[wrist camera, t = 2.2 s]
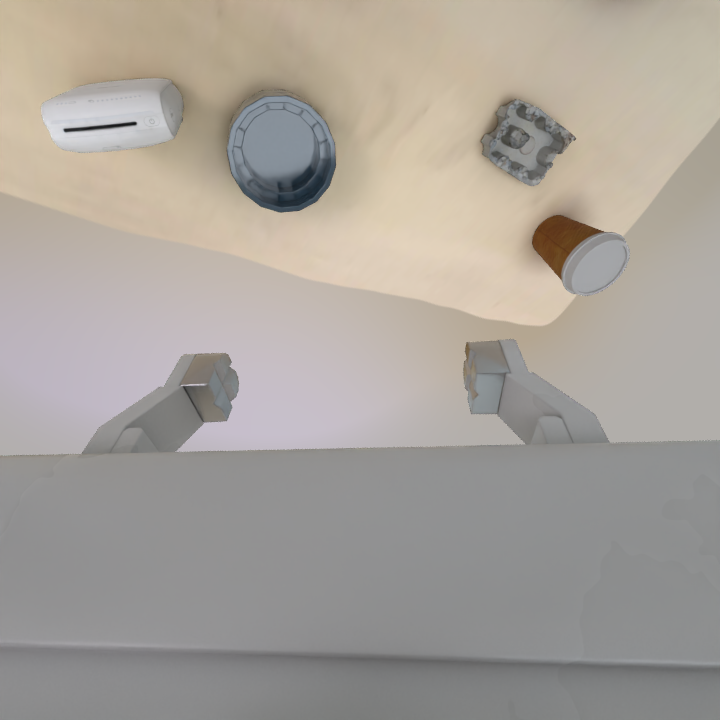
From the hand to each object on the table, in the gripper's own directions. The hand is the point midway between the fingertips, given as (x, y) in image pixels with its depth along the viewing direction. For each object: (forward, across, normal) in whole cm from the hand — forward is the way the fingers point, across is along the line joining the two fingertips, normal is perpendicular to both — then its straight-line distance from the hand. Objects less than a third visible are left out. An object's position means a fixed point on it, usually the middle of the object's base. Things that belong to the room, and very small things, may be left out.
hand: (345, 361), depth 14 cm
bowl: (+41, +11, +2) cm, 43 cm away
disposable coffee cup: (+53, -27, +21) cm, 63 cm away
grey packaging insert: (+50, -19, +6) cm, 54 cm away
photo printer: (+38, +25, -4) cm, 45 cm away
